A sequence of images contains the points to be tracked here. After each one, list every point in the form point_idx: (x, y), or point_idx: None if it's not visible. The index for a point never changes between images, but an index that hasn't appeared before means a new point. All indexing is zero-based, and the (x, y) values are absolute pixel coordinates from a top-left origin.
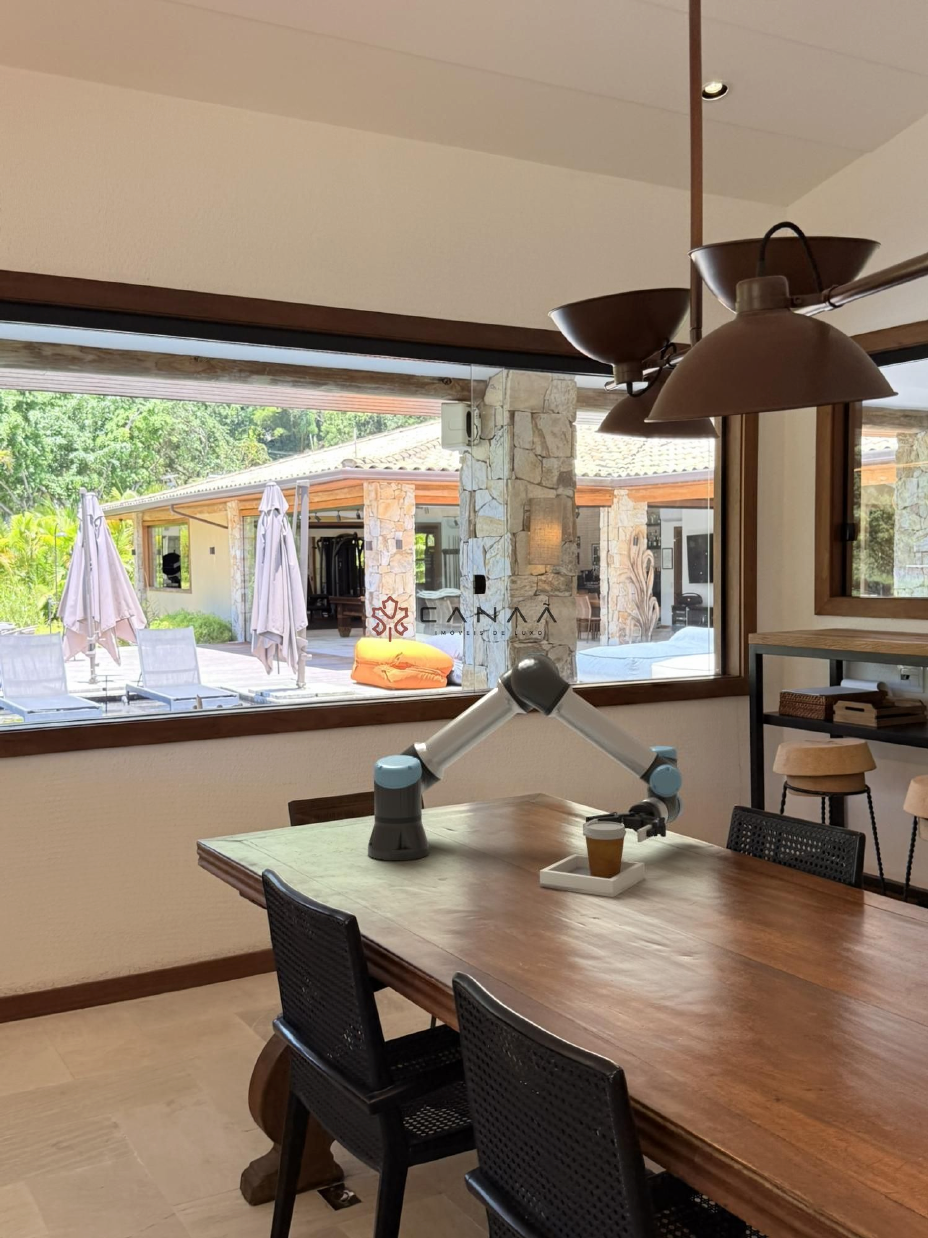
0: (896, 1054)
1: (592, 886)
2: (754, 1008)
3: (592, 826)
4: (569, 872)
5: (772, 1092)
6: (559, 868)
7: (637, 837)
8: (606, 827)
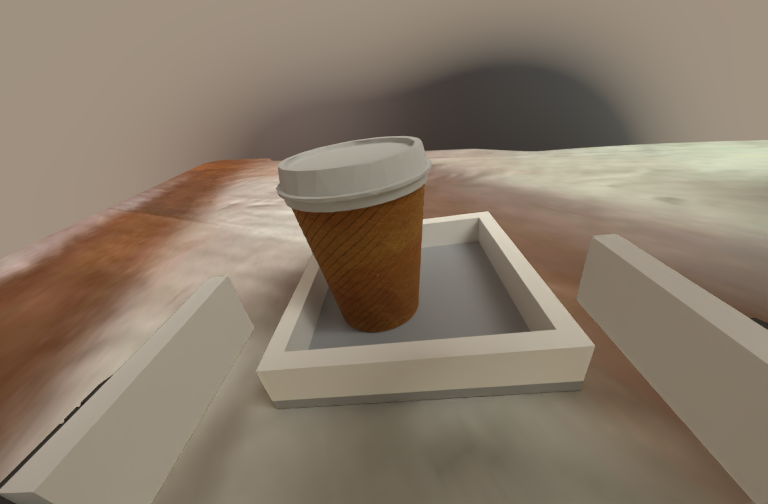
0: (149, 191)
1: None
2: (205, 188)
3: (395, 148)
4: (506, 304)
5: (221, 169)
6: (498, 256)
7: (244, 308)
8: (344, 157)
